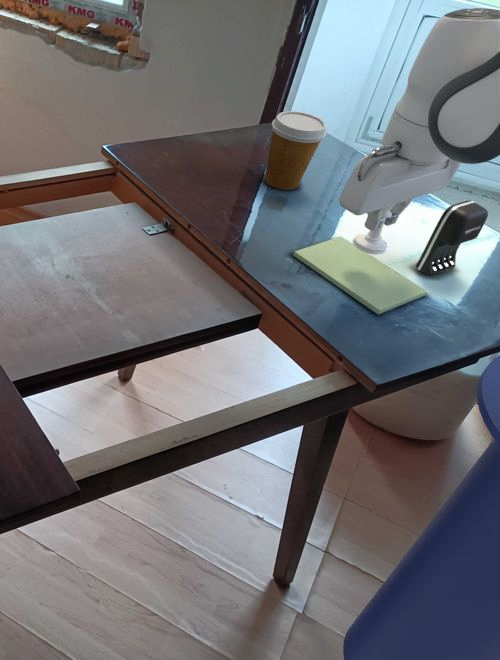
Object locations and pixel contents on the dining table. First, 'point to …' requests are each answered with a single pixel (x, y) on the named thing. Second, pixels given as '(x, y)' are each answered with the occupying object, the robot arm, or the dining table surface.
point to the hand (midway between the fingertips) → (379, 225)
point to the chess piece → (373, 238)
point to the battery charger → (451, 236)
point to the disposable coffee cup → (292, 148)
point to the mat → (360, 274)
